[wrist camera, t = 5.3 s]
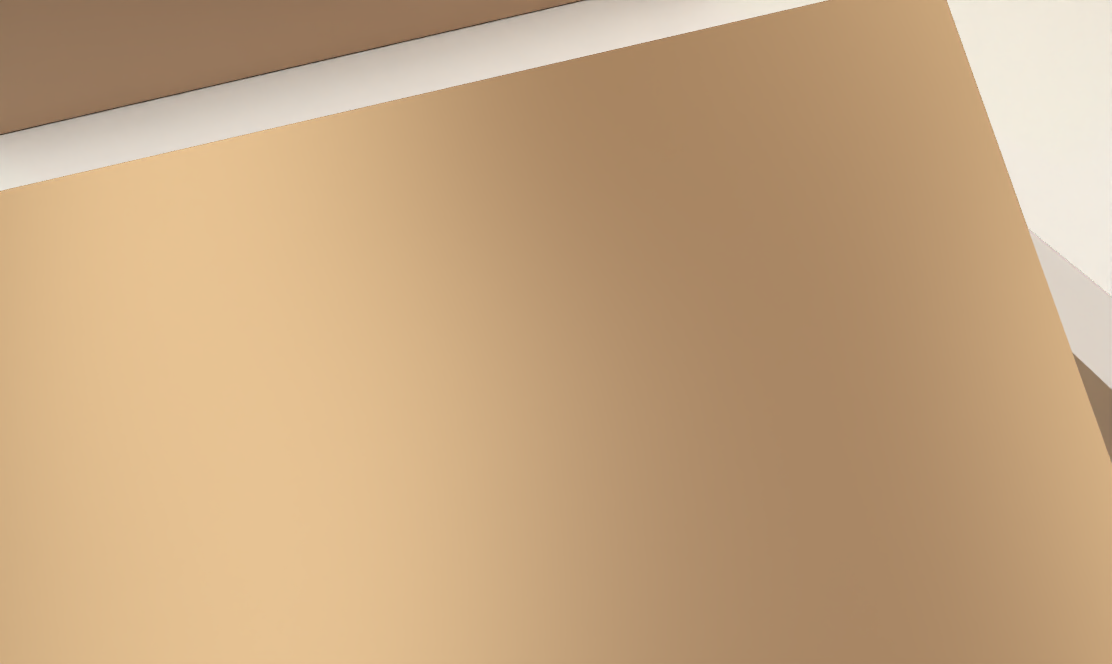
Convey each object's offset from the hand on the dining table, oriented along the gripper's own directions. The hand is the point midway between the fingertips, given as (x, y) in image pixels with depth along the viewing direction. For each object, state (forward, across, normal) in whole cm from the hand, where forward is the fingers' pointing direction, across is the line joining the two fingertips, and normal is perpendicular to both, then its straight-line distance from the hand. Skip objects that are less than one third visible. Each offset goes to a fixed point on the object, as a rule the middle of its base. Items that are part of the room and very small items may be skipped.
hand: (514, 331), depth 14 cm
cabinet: (+1, 0, -5) cm, 5 cm away
